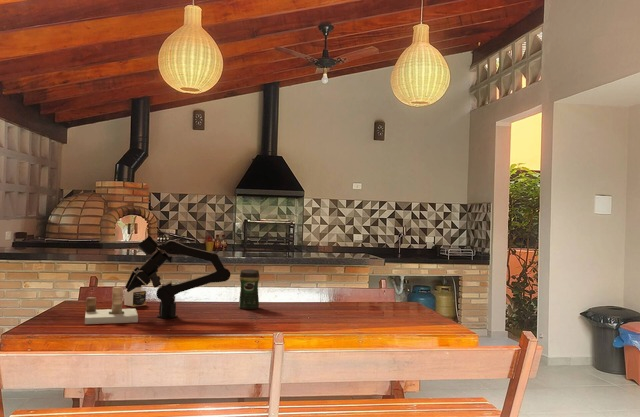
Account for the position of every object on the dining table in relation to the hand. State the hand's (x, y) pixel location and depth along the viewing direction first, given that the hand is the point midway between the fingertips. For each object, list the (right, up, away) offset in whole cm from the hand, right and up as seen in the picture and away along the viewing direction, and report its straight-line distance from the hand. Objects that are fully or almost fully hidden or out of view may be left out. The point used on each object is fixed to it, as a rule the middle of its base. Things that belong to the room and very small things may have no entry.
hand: (126, 289), depth 235 cm
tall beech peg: (-4, -12, -1) cm, 13 cm away
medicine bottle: (-7, -12, +31) cm, 34 cm away
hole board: (-6, -12, -2) cm, 13 cm away
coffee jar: (+47, -14, +34) cm, 60 cm away
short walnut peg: (-15, -9, 0) cm, 18 cm away
